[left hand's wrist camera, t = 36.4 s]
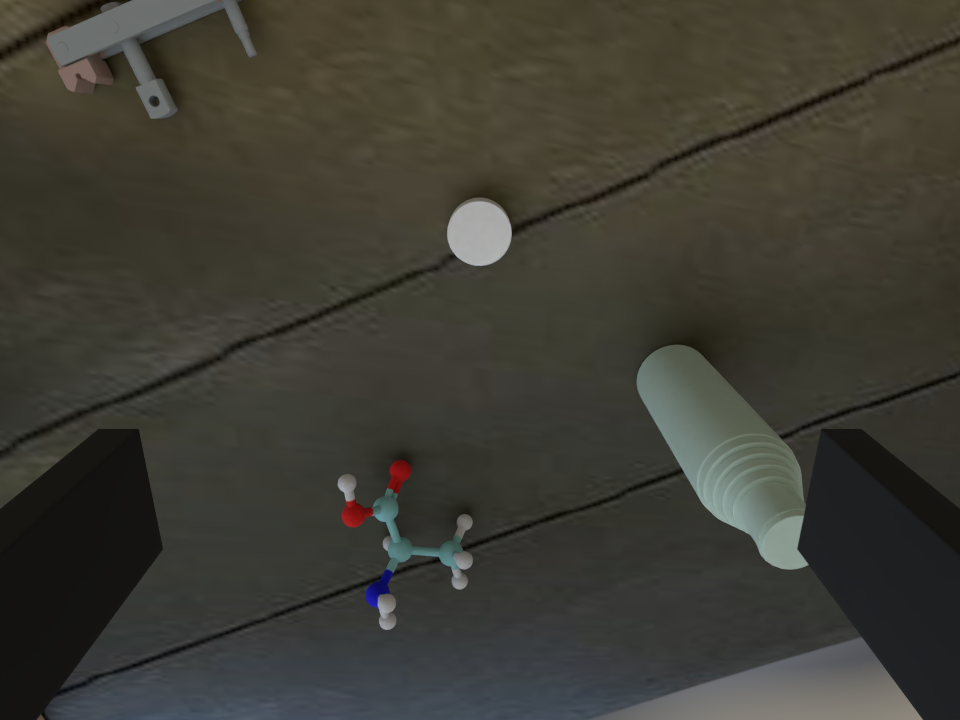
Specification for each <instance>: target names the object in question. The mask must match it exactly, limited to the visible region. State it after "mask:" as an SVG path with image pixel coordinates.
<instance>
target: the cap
mask: <svg viewBox="0 0 960 720" xmlns="http://www.w3.org/2000/svg"><path fill="white" fill-rule="evenodd" d="M447 236H448V242H449V245H450V247H451V249H452V251H453V252H454V254H455V255H456V256H457V257H458V258H459V259H461V260H462V261H464V262H466V263H468V264H471V265H476V266H483V265H488V264H491V263H493V262H495V261H497V260H498V259H500V258H501V257H502V256H503V255H504V254H505V252H506V251H507V249H508V247H509V245H510V242H511V237H512V230H511V225H510V221H509V218H508V216H507V214H506V212H505V210H504V209H503V208H502V207H501V206H500V205H499V204H498V203H496V202H495V201H493V200H490V199H487V198H472V199H469V200H466V201H465V202H463V203H461V204H460V205H459V206H458V207H457V208H456V209H455V210H454V212H453V214H452V216H451V218H450V221H449V225H448V230H447Z"/></svg>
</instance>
